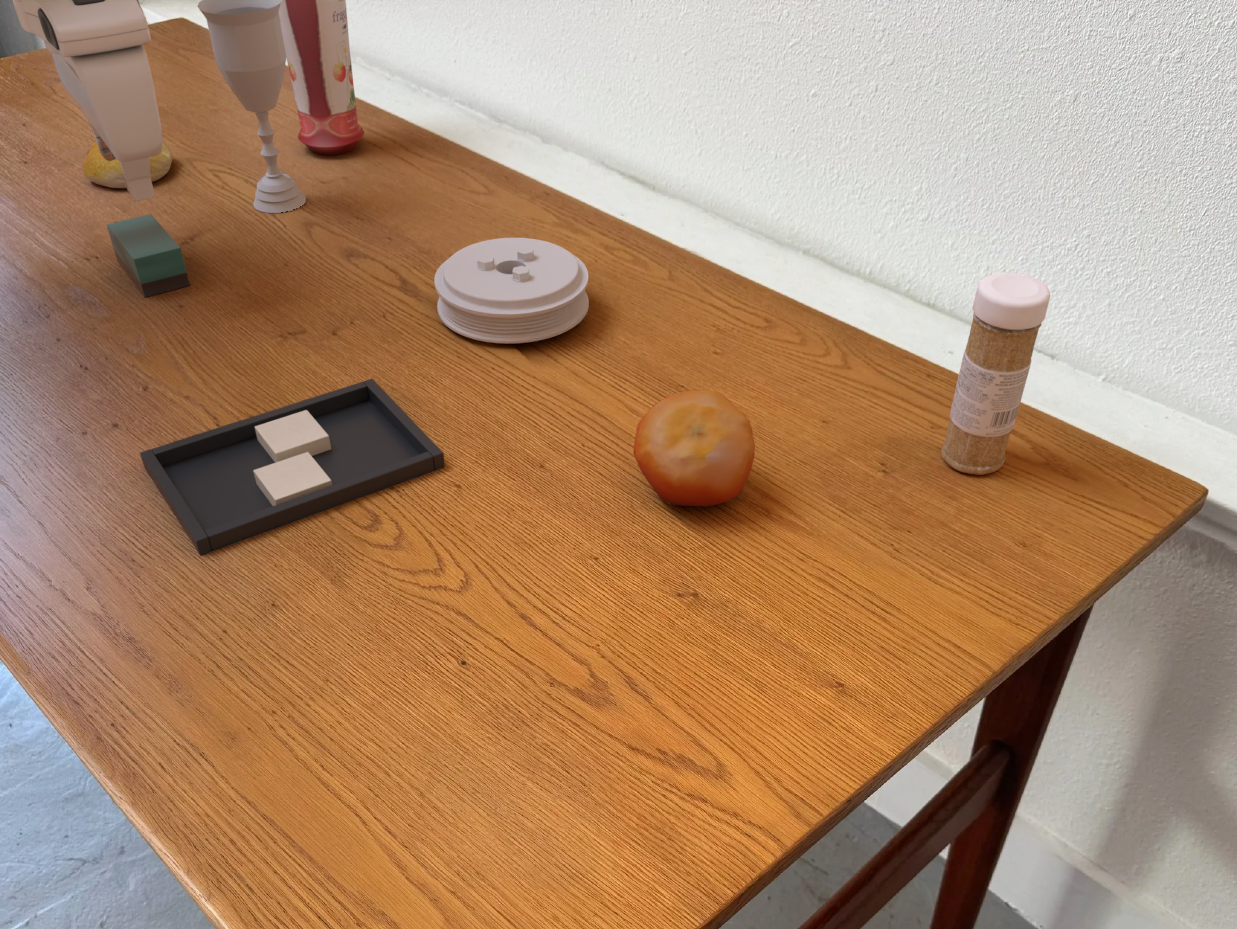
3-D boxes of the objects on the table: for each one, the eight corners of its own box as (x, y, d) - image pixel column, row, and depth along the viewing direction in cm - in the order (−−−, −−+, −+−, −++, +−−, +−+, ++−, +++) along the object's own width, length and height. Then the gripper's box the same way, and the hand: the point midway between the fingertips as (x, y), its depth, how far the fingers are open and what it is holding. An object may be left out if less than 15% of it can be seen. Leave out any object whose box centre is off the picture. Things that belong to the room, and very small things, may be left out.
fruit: (747, 426, 85) (758, 373, 77) (747, 529, 83) (758, 486, 75) (635, 423, 85) (635, 370, 77) (632, 526, 83) (631, 482, 75)
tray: (202, 561, 76) (195, 540, 75) (145, 472, 83) (139, 452, 82) (445, 472, 83) (443, 452, 82) (375, 397, 90) (372, 378, 89)
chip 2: (278, 514, 79) (275, 499, 78) (256, 484, 81) (252, 470, 80) (334, 494, 80) (331, 480, 79) (311, 465, 83) (308, 451, 82)
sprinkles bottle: (986, 437, 86) (1031, 266, 77) (1015, 473, 83) (1065, 299, 74) (928, 445, 86) (966, 273, 77) (955, 481, 82) (998, 306, 73)
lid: (531, 370, 93) (527, 312, 90) (407, 326, 98) (400, 270, 95) (617, 304, 101) (617, 249, 97) (499, 266, 106) (495, 213, 102)
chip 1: (278, 467, 82) (275, 453, 82) (257, 440, 85) (254, 426, 84) (331, 449, 84) (329, 435, 83) (309, 423, 87) (306, 409, 86)
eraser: (190, 285, 103) (180, 247, 101) (145, 297, 101) (133, 259, 99) (161, 250, 108) (151, 213, 105) (117, 261, 106) (106, 224, 104)
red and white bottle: (360, 161, 123) (314, -156, 104) (291, 160, 123) (231, -157, 104) (373, 134, 128) (331, -172, 109) (306, 133, 128) (252, -173, 109)
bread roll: (80, 193, 117) (67, 152, 114) (101, 157, 123) (90, 118, 121) (165, 190, 117) (154, 150, 115) (182, 154, 124) (172, 115, 121)
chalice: (299, 181, 119) (263, -14, 107) (329, 204, 115) (295, 4, 103) (230, 199, 116) (185, 0, 104) (258, 223, 112) (215, 19, 100)
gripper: (5, -31, 94) (61, 142, 104) (61, 40, 82) (119, 230, 91) (86, -43, 97) (133, 128, 106) (153, 25, 84) (200, 212, 93)
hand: (127, 176), depth 99 cm, fingers open, 8 cm apart
